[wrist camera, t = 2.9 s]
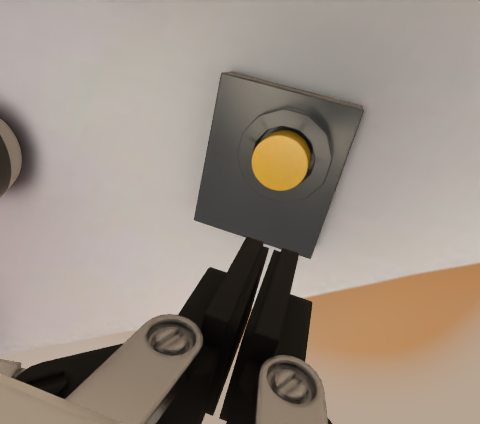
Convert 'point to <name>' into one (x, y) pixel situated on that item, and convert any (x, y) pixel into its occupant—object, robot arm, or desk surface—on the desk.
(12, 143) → the pump dispenser
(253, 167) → the button
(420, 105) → the desk surface
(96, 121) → the desk surface
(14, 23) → the desk surface
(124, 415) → the robot arm
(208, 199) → the console
